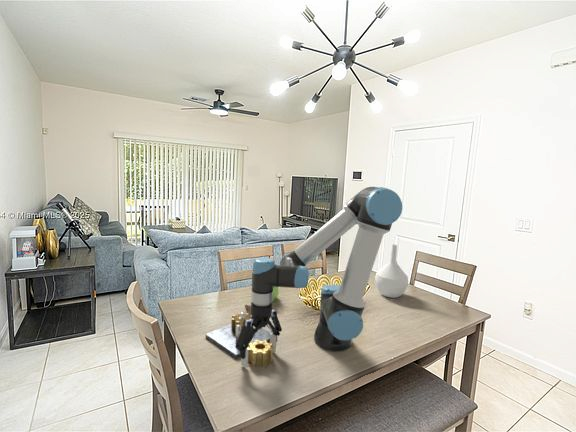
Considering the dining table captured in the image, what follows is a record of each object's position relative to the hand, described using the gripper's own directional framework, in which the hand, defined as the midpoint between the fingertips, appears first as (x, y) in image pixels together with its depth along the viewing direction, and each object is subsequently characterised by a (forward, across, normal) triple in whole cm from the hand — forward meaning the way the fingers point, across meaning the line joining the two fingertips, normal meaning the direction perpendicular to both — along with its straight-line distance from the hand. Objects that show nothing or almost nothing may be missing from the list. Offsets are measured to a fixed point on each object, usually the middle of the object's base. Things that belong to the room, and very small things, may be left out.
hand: (258, 358), depth 109 cm
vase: (0, -98, +5) cm, 98 cm away
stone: (+1, -22, -27) cm, 35 cm away
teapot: (+1, -39, -39) cm, 55 cm away
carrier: (+1, -4, -16) cm, 16 cm away
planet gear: (0, 0, 0) cm, 0 cm away
